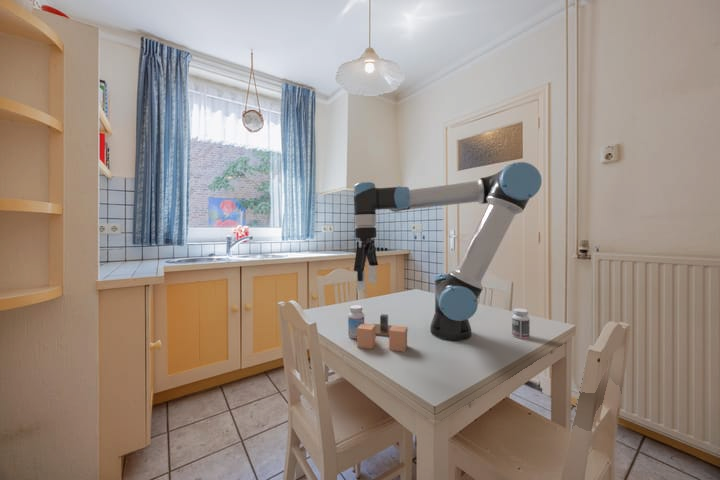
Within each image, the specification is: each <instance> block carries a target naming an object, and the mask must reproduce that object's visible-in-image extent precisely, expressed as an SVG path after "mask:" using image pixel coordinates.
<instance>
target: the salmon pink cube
mask: <svg viewBox="0 0 720 480" xmlns="http://www.w3.org/2000/svg"><path fill="white" fill-rule="evenodd" d="M391 326H392V327H391V328H390V330H389V336H388V339H389V340H388V341H389V342H388V349H389V350H390V351H396V352H406V350H407V346H408V326H402V325H393V324H392V325H391Z"/></svg>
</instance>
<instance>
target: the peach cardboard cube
mask: <svg viewBox="0 0 720 480" xmlns="http://www.w3.org/2000/svg"><path fill="white" fill-rule="evenodd" d="M373 324H374V323H371V324H370V323H364V324H363V323H361V324H360V326H359V327H358V328H357V339H356V343H357V344H356V346H357V348H360V349H361V348H362V349H369V350H372V349H373V348H374V346H375V345H376V343H377V341H376V338H377V337H376V336H377V335H376V325H373Z"/></svg>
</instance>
